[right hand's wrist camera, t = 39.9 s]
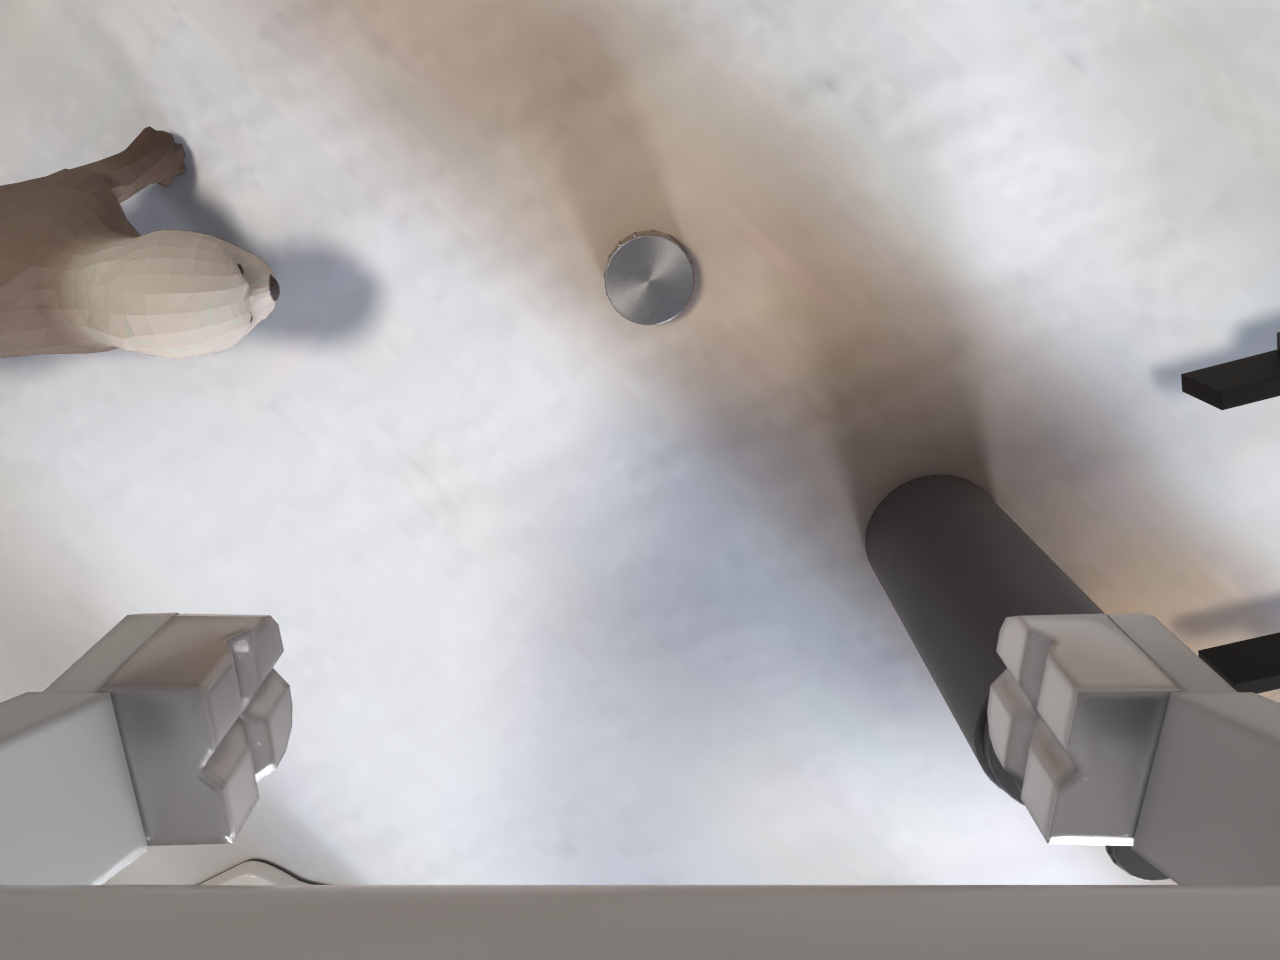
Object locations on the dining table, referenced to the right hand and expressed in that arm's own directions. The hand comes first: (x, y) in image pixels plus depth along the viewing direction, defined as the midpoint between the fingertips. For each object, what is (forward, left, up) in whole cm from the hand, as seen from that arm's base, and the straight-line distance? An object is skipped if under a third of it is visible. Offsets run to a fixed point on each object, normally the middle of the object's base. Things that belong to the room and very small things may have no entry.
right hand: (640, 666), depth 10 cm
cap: (0, 0, -30) cm, 30 cm away
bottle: (+10, -17, -32) cm, 37 cm away
